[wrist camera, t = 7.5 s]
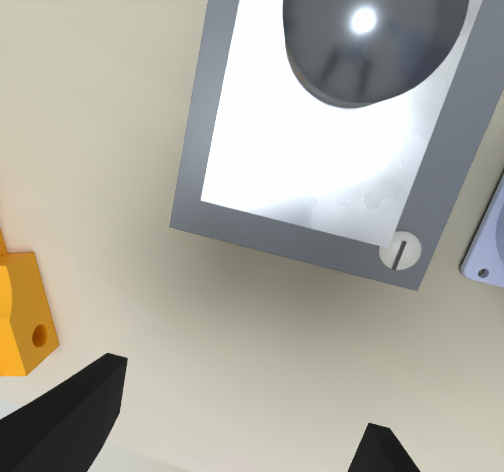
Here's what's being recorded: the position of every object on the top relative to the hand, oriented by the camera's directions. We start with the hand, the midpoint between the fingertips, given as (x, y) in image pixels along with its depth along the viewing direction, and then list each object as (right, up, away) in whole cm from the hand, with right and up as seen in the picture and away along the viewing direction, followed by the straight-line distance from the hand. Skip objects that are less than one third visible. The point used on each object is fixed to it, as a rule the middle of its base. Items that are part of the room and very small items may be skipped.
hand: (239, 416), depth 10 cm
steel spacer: (+4, +12, +2) cm, 12 cm away
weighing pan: (+4, +12, +3) cm, 13 cm away
